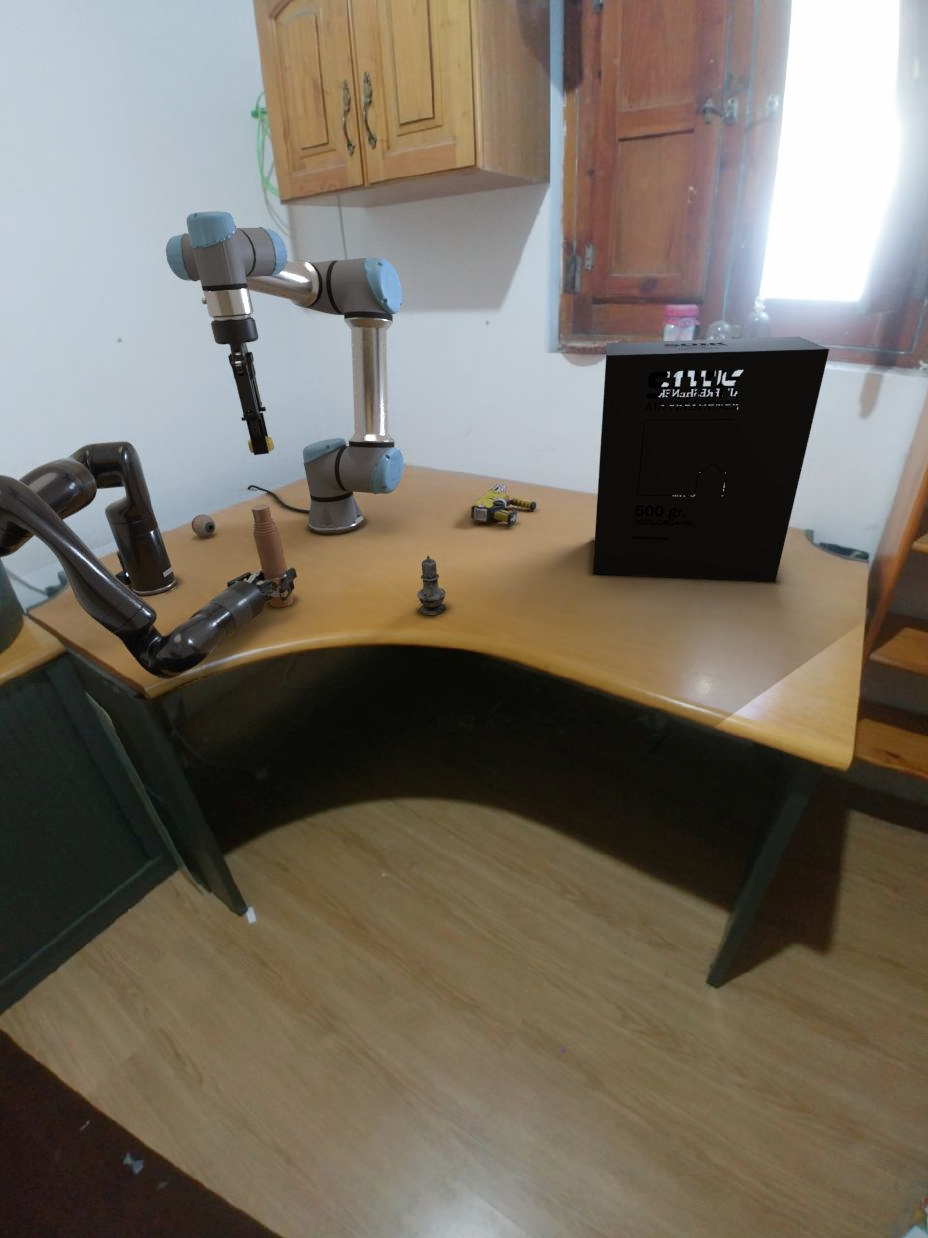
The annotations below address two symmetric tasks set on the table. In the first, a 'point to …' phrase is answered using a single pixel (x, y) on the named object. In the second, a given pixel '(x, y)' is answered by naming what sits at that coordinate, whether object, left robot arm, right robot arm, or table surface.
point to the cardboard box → (703, 455)
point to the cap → (269, 444)
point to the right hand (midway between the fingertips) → (262, 450)
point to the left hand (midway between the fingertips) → (282, 570)
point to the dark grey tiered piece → (431, 589)
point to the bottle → (269, 549)
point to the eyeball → (203, 525)
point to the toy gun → (498, 506)
